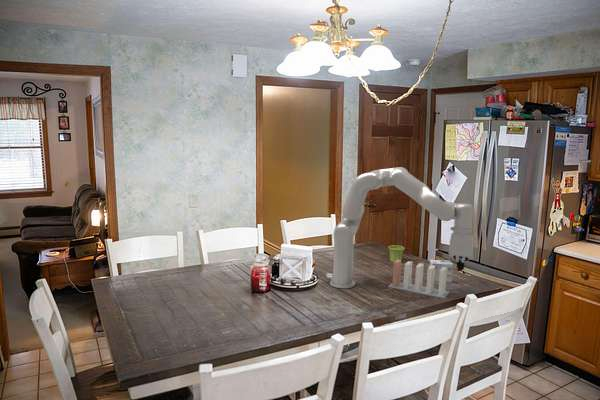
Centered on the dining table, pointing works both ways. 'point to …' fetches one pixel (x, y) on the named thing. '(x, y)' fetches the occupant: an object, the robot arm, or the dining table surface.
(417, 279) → the domino
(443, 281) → the domino
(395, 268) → the domino
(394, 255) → the plant pot
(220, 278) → the dining table surface
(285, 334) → the dining table surface
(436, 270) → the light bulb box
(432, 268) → the domino
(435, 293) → the board
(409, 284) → the domino
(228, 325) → the dining table surface
